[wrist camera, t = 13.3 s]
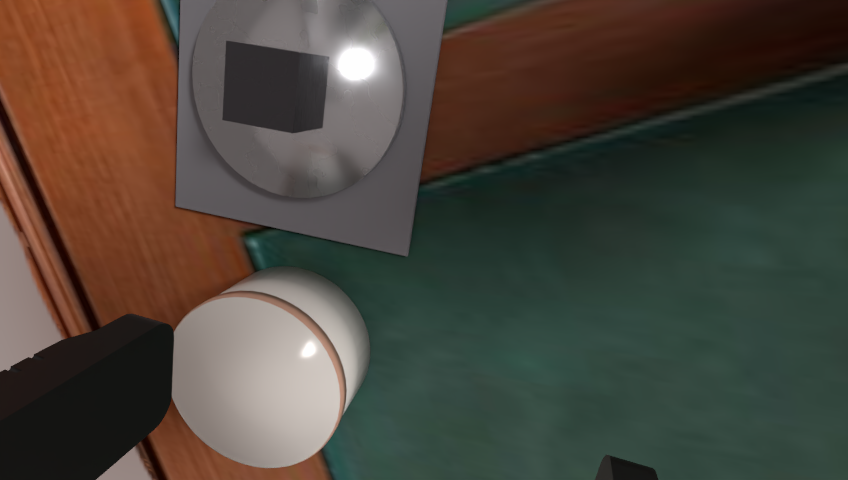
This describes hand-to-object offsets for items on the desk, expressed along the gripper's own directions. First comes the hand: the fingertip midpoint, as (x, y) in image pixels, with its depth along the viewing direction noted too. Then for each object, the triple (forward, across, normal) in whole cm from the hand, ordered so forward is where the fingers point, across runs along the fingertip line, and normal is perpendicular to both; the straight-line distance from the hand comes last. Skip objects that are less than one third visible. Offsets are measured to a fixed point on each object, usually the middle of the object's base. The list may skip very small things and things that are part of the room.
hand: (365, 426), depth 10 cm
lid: (+24, +13, -3) cm, 27 cm away
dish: (+24, +11, +14) cm, 30 cm away
